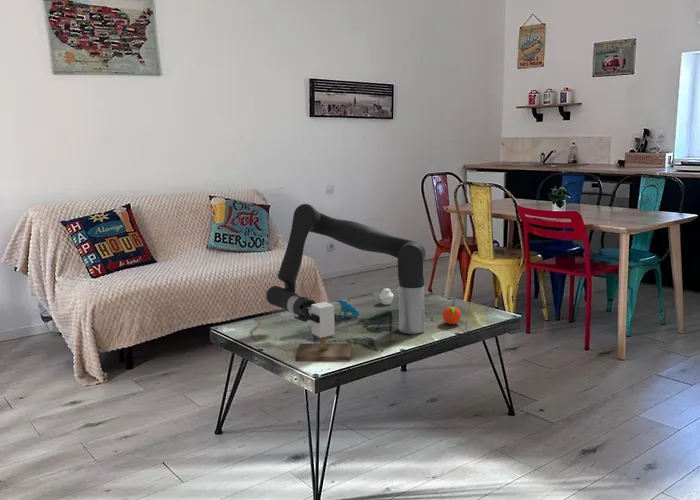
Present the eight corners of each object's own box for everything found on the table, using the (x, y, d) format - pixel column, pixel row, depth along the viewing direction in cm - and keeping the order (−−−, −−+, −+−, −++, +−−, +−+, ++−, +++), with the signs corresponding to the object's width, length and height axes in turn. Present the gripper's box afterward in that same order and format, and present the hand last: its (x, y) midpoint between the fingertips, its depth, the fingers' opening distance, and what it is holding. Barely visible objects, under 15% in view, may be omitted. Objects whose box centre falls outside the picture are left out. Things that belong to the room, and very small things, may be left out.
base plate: (351, 347, 212) (351, 329, 211) (350, 360, 199) (350, 341, 198) (299, 347, 212) (298, 329, 211) (295, 361, 200) (294, 341, 198)
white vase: (393, 301, 270) (393, 286, 269) (393, 305, 264) (393, 289, 263) (379, 301, 270) (379, 286, 269) (379, 305, 264) (379, 289, 263)
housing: (325, 330, 208) (325, 301, 206) (334, 334, 204) (334, 305, 202) (311, 333, 205) (311, 304, 203) (320, 337, 201) (319, 308, 199)
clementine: (462, 327, 232) (463, 309, 231) (444, 327, 232) (444, 309, 231) (459, 321, 240) (459, 303, 239) (441, 321, 240) (441, 304, 239)
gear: (364, 315, 245) (347, 299, 241) (356, 326, 243) (338, 311, 240) (352, 312, 255) (335, 297, 251) (344, 323, 253) (327, 308, 250)
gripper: (283, 299, 211) (307, 311, 197) (319, 293, 218) (345, 304, 205) (283, 320, 212) (308, 333, 198) (319, 313, 220) (345, 325, 206)
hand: (326, 318), depth 201 cm, fingers closed on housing, 5 cm apart
